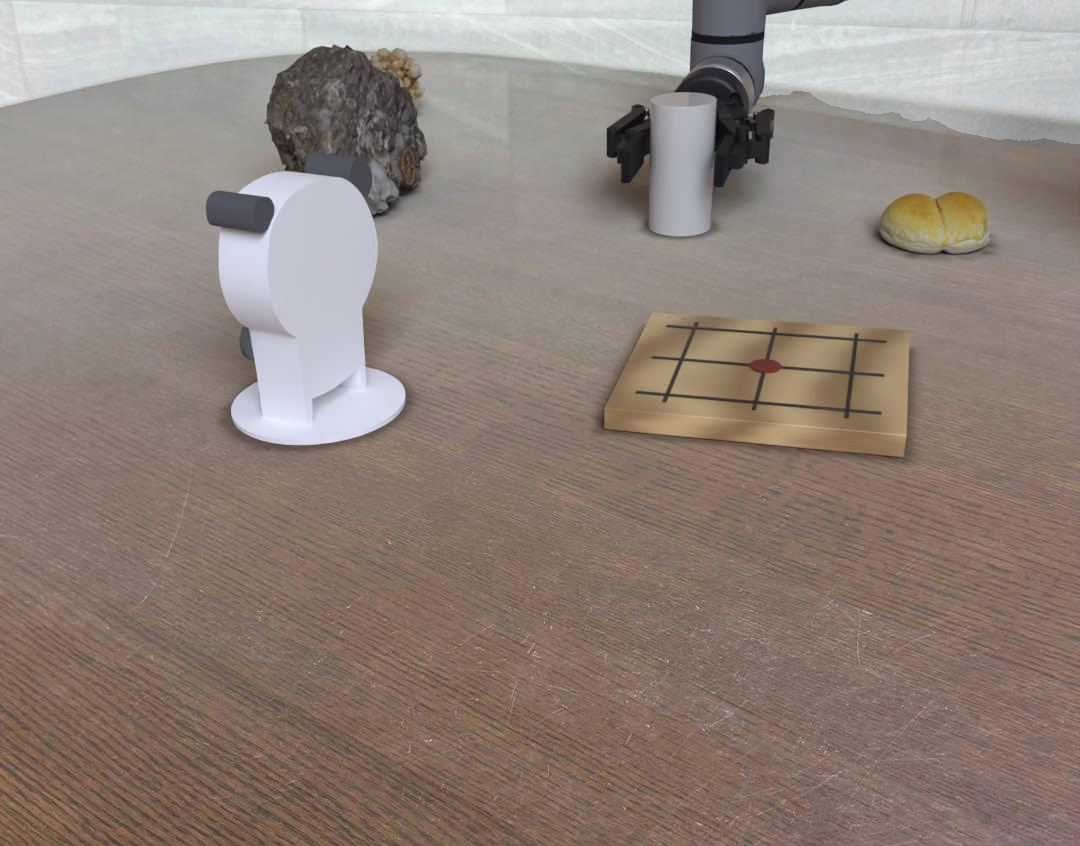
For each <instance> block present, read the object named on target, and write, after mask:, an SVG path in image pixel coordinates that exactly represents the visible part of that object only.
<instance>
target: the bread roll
mask: <svg viewBox="0 0 1080 846" xmlns="http://www.w3.org/2000/svg"><path fill="white" fill-rule="evenodd" d="M990 224H991V214H989V210H988V209H987V208H986V207H985V205H984V203H983V202H982V201H981V200H980V199H978V198H977V197H975V196H974V195H971V194H969V193H966V192H962V191H951V192H947V193H945V194H942V195H939V196H937V197H936V198H934V197H931V196H929V195H927V194H924V193H923V194H922V193H917V192H916V193H910V194H909V193H908V194H906V195H902V196H900V197H898V198H896V199H895V200H894V201H892V202H890V204H889V205H888V206H887V207H886V208H885V209H884V211H883V212H882V215H881V217H880V219H879V225H878V230H879V234H880V236H881V237H882V238H883V239H884V241H885V242H887V243H889V244H890V245H891V246H893V247H897V248H899V249H902V250H905V251H908V252H912V253H915V254H925V255H935V254H938V253H941V252H942V251H943V252H946V253H947V254H951V255H961V254H967V253H972V252H975V251H977V250H981V249H983V248H984V247H986V246H988V244H990V240H991V239H990Z"/></svg>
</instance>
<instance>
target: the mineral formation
mask: <svg viewBox="0 0 1080 846" xmlns="http://www.w3.org/2000/svg"><path fill="white" fill-rule="evenodd" d="M369 62H370V63H371V64H372V65H373V66H375V67H376V69H377V70H386V71H388V72H391V73H393V75H394V76H395V77H398V78H399V81H400V87H407V89H408V91H409V92H410V94H411V96H412V100H413V104H414V105H415V107H416V110H417V111H418V107H419V103H420V101H419V100H420V99H421V98H422V97H423V96H424V93H425V92H426V88H425V85H422V84H421V83H420V82H419V78H422V77H423V73H424V72H423V71H422V69H421V66H420V65H419V61H418V59H417V58H416V57H410V56H408V54H407V51H406V50H405V49H404V48H399V47H395V49H392V51H391V52H390V50H389V49H387V48H385V47H384V48H383V47H382V48H378V50H377V51H376V54H373V53H371V57H370V59H369Z"/></svg>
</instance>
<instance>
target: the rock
mask: <svg viewBox="0 0 1080 846" xmlns="http://www.w3.org/2000/svg"><path fill="white" fill-rule="evenodd" d="M369 60H370V59H369V58H368V56H367V55H366V53H365V51H362V50H356V49H354V48H352V47H351V46H350V45H349V44H346V45H345V46H344V47H341V46H339V45H338V44H334V43H333V44H332V46H326V45H319V46H316V47H313V48H312V49H311V50H308V51H307V52H306V53H304V54H303V55H301V56H300V57H298V58H297V59H296V60H295V61H294V62H293V63H292V64H291V65H290V66H288V67H287V68H286V69H284V70H282V71H280V72H278V73H276V76H275V79H274V80H275V81H274V84H273V86H272V87H271V94H269V101H268V103H267V104H266V119H265V120H264V122H263V124H266V125H267V126H268V131H269V133H270V135H271V141H272V143H273V144H274V146H275V147H276V150H277V153H278V155H279V158H280V163H281V165H282V166H285V168H284V171H291V172H299V173H305V164H306V161H307V159H308V157H309V155H310V154H311V153H313V152H317V153H325V154H334V155H343V156H352V157H360V158H363V159H365V160H366V161H367V162H368V164H369V166H370V169H371V173H372V187H371V191H370V193H369V194H368V196H366V197H364V199H365V201H366V203H367V205H368V207H369V209H370V212H371V215H372V216H375V215H376V214H383V213H384V212H385V211H386V210H388V209H390V206H392V205H393V204H394V203H396V202H397V201H399V198H400V192H401V191H410V190H413V189H414V188H415V187H416V186H417V184H418V183H421V182H422V177H421V173H420V172H421V171H422V170H423V168H422V165H421V162H425V161H426V160H425V159H426V158H425V156H427V155H428V154H429V152H428V146H427V143H426V137H425V134H424V132H423V131H422V130H421V128H419V122H418V109H417V110H416V107H415V105H414V104H413V100H412V96H411V94H410V92H409V91H408V89H407V87H400V81H399V78H398V77H395V76H394V75H393V73H391V72H388V71H386V70H377V69H376V67H375V66H373V65H372V64H371V63H370V62H369Z"/></svg>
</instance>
